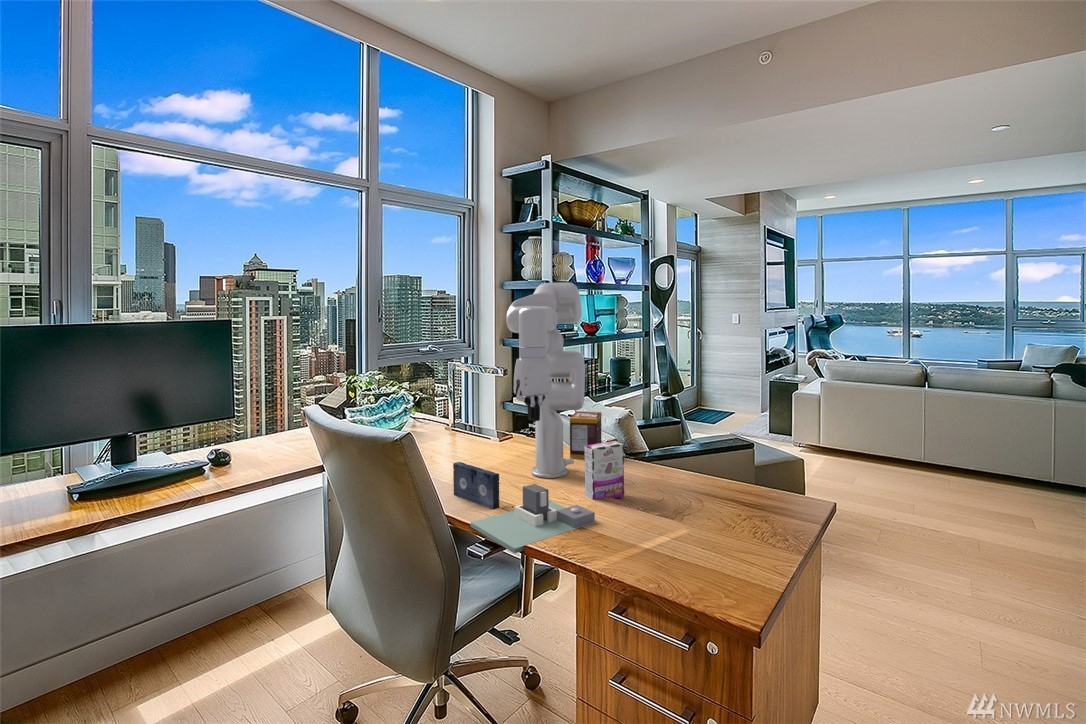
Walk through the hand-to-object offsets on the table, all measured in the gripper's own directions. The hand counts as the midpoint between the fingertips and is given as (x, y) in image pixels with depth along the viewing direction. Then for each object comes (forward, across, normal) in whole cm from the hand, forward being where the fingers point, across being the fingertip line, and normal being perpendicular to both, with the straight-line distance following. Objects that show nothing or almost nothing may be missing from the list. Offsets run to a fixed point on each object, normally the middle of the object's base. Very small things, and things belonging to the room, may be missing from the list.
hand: (533, 420), depth 147 cm
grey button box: (+24, -2, +14) cm, 29 cm away
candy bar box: (+26, -22, +4) cm, 35 cm away
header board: (+26, +6, +8) cm, 28 cm away
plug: (+24, +4, +6) cm, 26 cm away
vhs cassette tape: (+26, +8, -18) cm, 33 cm away
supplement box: (+28, -52, -36) cm, 70 cm away
